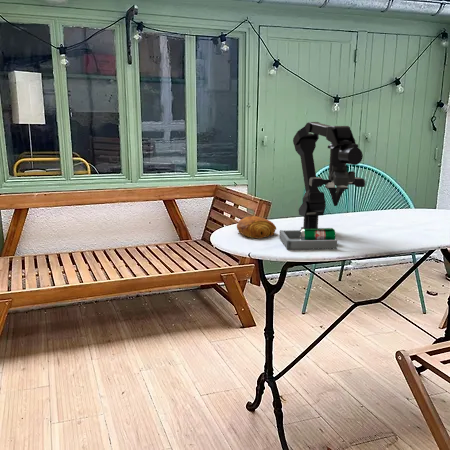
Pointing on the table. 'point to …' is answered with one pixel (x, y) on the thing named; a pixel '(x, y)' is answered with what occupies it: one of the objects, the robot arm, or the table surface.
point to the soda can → (317, 234)
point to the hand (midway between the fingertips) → (335, 205)
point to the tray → (304, 242)
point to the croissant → (256, 227)
